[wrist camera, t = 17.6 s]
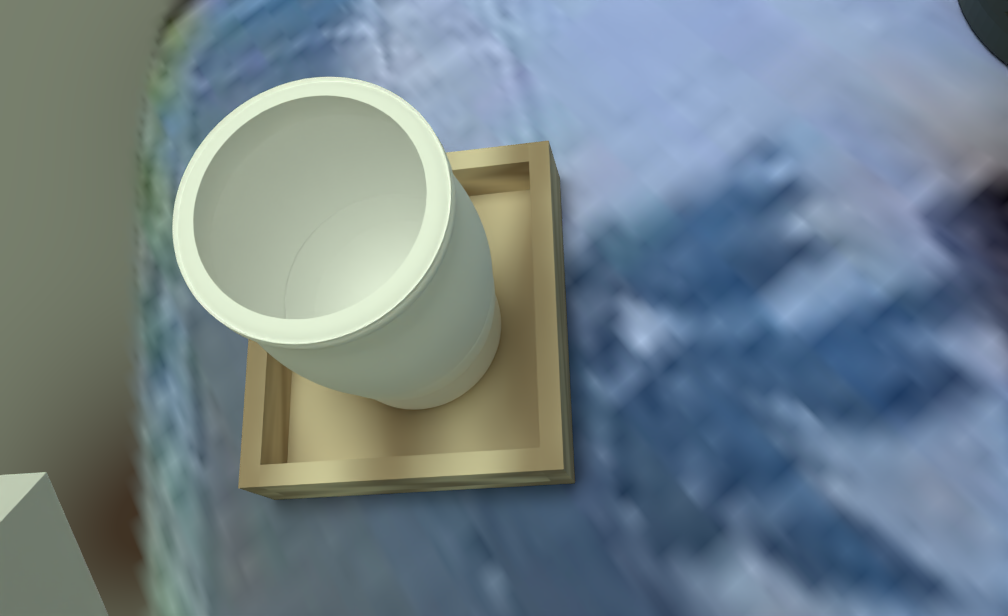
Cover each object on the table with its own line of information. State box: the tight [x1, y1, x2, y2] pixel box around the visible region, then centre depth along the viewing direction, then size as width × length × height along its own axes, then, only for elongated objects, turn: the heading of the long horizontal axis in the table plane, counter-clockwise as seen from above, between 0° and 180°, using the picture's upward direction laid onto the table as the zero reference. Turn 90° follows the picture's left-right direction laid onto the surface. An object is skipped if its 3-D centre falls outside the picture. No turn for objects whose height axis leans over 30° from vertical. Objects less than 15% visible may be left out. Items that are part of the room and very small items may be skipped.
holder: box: [238, 141, 575, 500], centre depth 46 cm, size 15×16×4 cm
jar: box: [173, 77, 501, 410], centre depth 40 cm, size 11×10×15 cm
